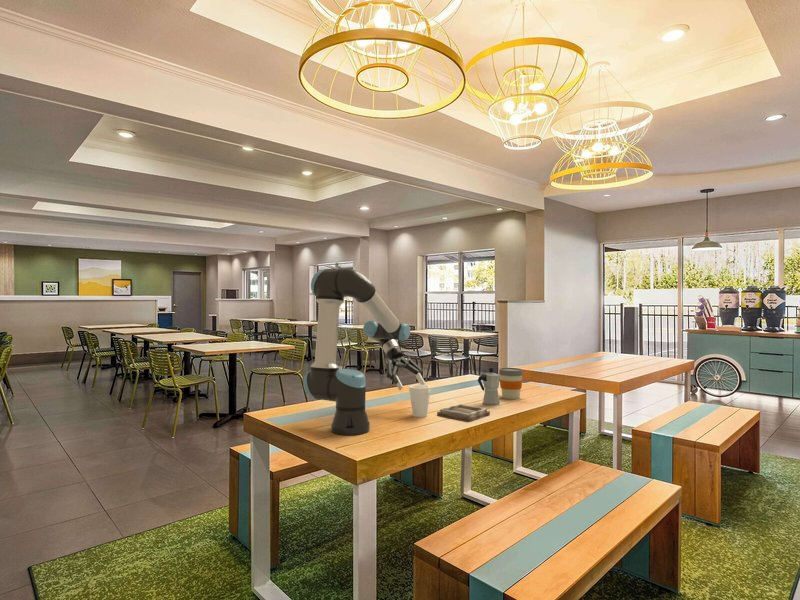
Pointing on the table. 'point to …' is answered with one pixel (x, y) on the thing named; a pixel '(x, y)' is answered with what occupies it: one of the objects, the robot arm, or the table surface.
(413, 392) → the foam cup
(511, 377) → the reusable coffee cup
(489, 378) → the coffee maker
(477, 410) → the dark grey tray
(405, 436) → the table surface
